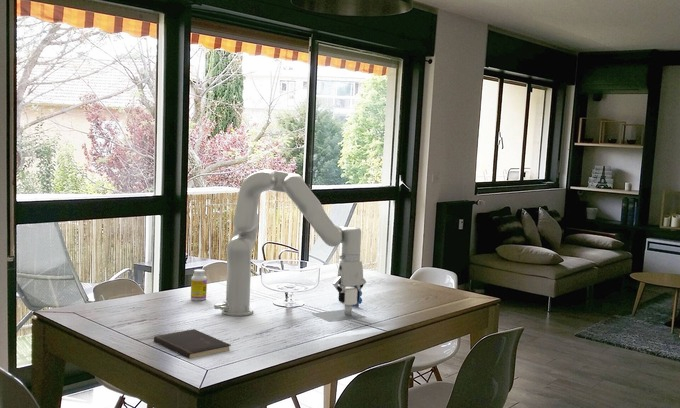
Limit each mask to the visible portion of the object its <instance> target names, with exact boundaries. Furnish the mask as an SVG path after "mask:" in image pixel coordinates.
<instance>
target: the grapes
mask: <svg viewBox="0 0 680 408" xmlns="http://www.w3.org/2000/svg"><path fill="white" fill-rule="evenodd" d="M349 287H354V286H349ZM362 295H363V292H362V290H361V291H360V292H359V301H357V304H355V305H352V307H353V306H354V307H356V308H359V306H360V305H361V304H362V303H363V298H362Z"/></svg>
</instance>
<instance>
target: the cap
mask: <svg viewBox="0 0 680 408" xmlns="http://www.w3.org/2000/svg"><path fill="white" fill-rule="evenodd" d="M344 293H345V300H344V303H342V302H340V301H339V302H340V304H342V305H345V304H346V305H352V306H353V305H355V304H357V293H358V290H357V288H355V287H345V290H344Z"/></svg>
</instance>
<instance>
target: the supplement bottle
mask: <svg viewBox="0 0 680 408" xmlns="http://www.w3.org/2000/svg"><path fill="white" fill-rule="evenodd" d="M193 274H194V275H192V276H191V279H190V283H191V284H190V300H192V301H199V302H201V301H205V300H207V291H208V290H207V289H208V288H207V287H208V283H207V282H208V278H207V276H206V275H205V274H206V270H205V269H199V268H198V269H194V270H193Z"/></svg>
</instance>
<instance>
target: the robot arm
mask: <svg viewBox="0 0 680 408" xmlns="http://www.w3.org/2000/svg"><path fill="white" fill-rule="evenodd" d="M267 191H273V192H279V193H284V194H286V195H287V197H288V198H289V199H290V200H291V201H292V203H294V206H296V207H297V209H298V210H299V211H300V213H301V214H302V216H303V217H304V218H305V220H307V222H308V223H309V224H310V226H311V227H312V229H313V230H314V231H315V232H316V234H317V235H318V236H319V238H320V239H321V240H322V241H323V242H324V244H325V245H326V246H328V247H332V248H333V247H337V246H339V245H340V244H342V245H341V255H339V259H340V261H339V265H338V269H337V270H338V271H337V278H336V279H335V280H334V281H333V282H332V286H333V287H334V288H335V289H336V291H337V292H338V302H342V303H344V300H345V293H344V290H345V287H349V286H354V287H355V288H357V290H358V293H357V301H359V292H360V291H362V289H363V287H364V285H365V284H366V283H367V281H366V279H365V278H364V266H363V261H362V260H361V247H362V229H361V228H359V227H356V226H355V227H354V226H347V227H346V226H339V225H335V224H334V223H333V221H332V220H331V219H330V217H329V216H328V214H327V213H326V211H325V209H324V207H323V205H322V203H321V202H320V200H319V199H318V197H317V196H316V195H315V194H314V193H313V191H312V190H311V189H310V188H309V186H308V185H307V184H306V183H305V180H304V178H303V176H301V175H300V174H298V173H293V172H286V171H280V170H274V169H267V168H266V169H262V170H259V171H255V172H253V173H251V174H249V175H247V177H245V178H244V180H243V181H242V183H241V185H240V187H239V191H238V194H237V196H238V197H237V201H236V205H235V211H234V215H233V218H232V219H233V220H232V223H233V227H234V229H233V234H232V238H230V240H229V241H228V243H227V246H226V267H227V268H226V291H225V294H226V295H225V300H223V302H222V303H217V304H216V303H215V304H214V305H213V306H214V309H215V310H220V311H221V313H222V314H224V315H226V316H233V317H236V316H237V317H243V316H249V315H251V314H253V313H254V309H253V308H252V307H250V304H251V303H250V301H251V299H250V298H251V280H252V279H251V275H252V273H251V272H252V271H251V270H252V269H251V268H252V266H251V265H252V261H251V260H252V252H253V250H254V248H255V244H256V240H257V239H256V238H257V233H258V227H259V222H260V218H259V214H258V208H259V203H260V196H261V194H262V193H264V192H267ZM342 303H341V304H342Z"/></svg>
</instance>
